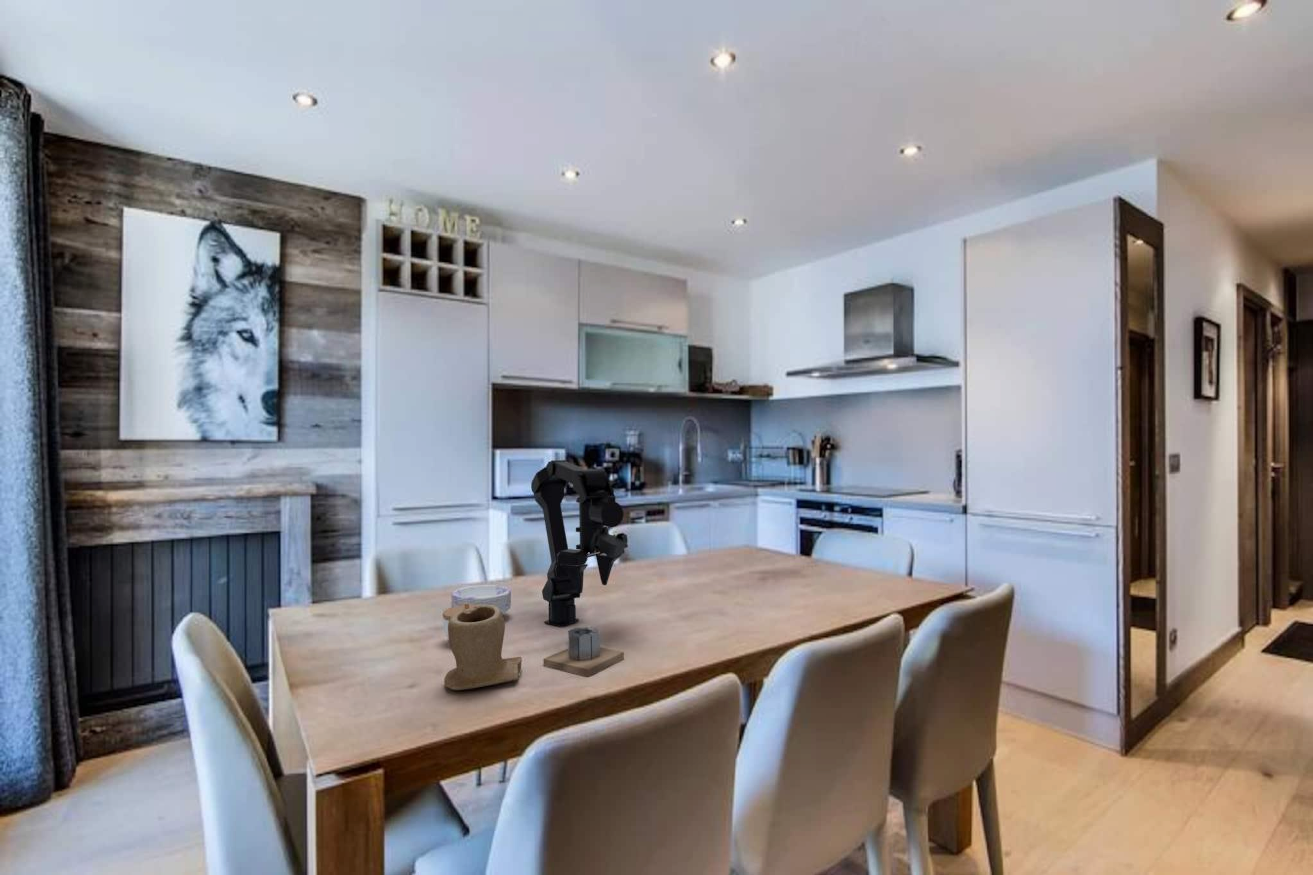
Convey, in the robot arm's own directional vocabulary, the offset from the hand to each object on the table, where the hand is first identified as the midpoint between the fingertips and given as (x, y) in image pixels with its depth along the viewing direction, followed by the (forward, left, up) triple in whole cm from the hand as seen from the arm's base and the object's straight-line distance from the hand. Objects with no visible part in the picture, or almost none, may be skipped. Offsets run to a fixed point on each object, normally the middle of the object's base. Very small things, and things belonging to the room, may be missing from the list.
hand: (592, 588), depth 148 cm
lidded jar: (-24, -17, -12) cm, 32 cm away
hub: (+8, -13, -10) cm, 18 cm away
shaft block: (+8, -13, -12) cm, 19 cm away
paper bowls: (-36, -2, -12) cm, 38 cm away
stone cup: (-1, -32, -12) cm, 34 cm away
